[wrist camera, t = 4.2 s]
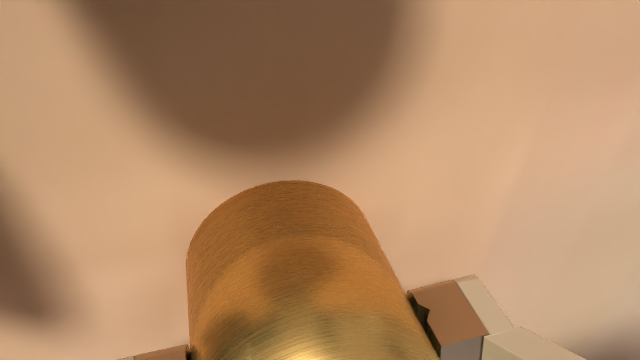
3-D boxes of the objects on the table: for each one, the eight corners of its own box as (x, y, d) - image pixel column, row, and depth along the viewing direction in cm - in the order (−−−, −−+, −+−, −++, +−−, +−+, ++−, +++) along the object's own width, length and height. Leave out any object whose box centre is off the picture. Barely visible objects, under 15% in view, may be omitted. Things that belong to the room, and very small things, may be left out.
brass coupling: (368, 162, 13) (498, 373, 8) (374, 305, 15) (475, 533, 10) (165, 204, 12) (167, 463, 7) (206, 346, 15) (229, 610, 10)
